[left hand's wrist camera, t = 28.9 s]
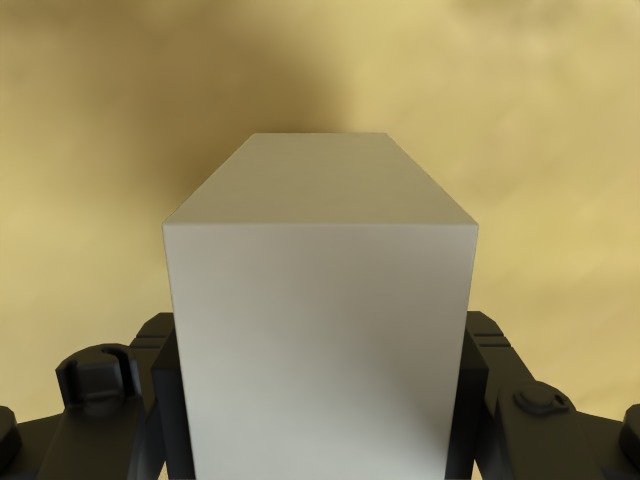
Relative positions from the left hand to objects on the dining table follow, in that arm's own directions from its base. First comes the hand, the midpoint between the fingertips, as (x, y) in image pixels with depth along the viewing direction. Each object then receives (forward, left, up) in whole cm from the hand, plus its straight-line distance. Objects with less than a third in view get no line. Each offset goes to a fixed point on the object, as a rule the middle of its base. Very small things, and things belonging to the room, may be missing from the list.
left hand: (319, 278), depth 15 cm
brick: (0, 0, -3) cm, 3 cm away
